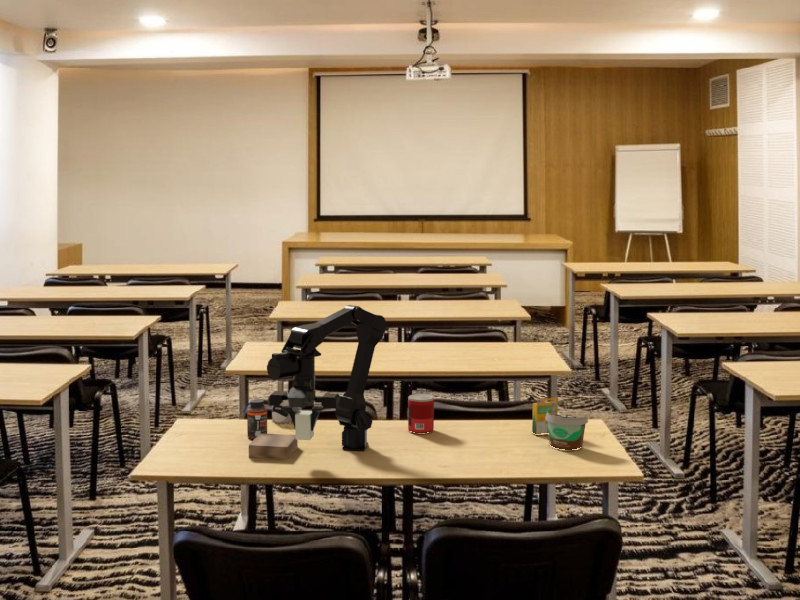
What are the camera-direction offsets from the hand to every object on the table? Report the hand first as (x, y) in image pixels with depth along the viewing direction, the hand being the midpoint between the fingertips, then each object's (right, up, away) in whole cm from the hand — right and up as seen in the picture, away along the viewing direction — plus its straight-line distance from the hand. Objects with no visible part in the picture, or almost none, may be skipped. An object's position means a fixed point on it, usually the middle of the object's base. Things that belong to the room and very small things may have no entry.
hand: (304, 430), depth 212 cm
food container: (+74, -8, +14) cm, 75 cm away
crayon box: (+70, -6, +29) cm, 76 cm away
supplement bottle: (-17, -6, +24) cm, 30 cm away
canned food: (+32, -6, +31) cm, 45 cm away
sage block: (0, -2, 0) cm, 2 cm away
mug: (-10, -4, +41) cm, 42 cm away
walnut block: (-10, -8, +10) cm, 16 cm away
